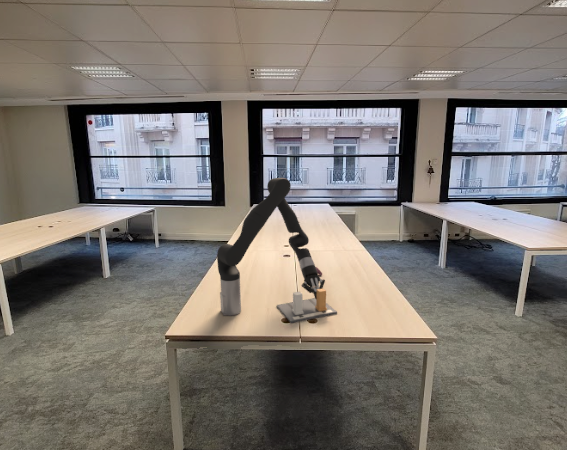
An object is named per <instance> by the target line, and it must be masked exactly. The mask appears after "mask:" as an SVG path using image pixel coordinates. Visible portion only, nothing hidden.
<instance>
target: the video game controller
mask: <svg viewBox="0 0 567 450" xmlns="http://www.w3.org/2000/svg"><path fill="white" fill-rule="evenodd" d="M315 267H316V270H317V273H318V276H323V272H322V271H321V270H320V269H319V268H318V266H315Z"/></svg>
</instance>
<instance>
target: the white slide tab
mask: <svg viewBox="0 0 567 450" xmlns="http://www.w3.org/2000/svg"><path fill="white" fill-rule="evenodd" d="M302 300H303V293H302V292H301V291H295V292H292V302H293V309H292V312H293V313H294V314H295V315H300V314H303V311H302Z"/></svg>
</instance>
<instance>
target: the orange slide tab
mask: <svg viewBox="0 0 567 450" xmlns="http://www.w3.org/2000/svg"><path fill="white" fill-rule="evenodd" d="M326 303H327V290H326V289H325V288H322V289H317V299H316V306H315V308H316V309H317V310H318V311H319V312H320V311H325V310H327V308H326Z"/></svg>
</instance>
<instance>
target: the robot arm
mask: <svg viewBox="0 0 567 450" xmlns="http://www.w3.org/2000/svg"><path fill="white" fill-rule="evenodd" d="M291 185H292V184H291V181H290V180H289V179H287V178H284V177H274V178H271V179H269V181H268V182H267V186H266V187H267V190H268V195H267V196H266V197H265V198H264V199H263V200H262V201H260V202H259V203H258V204H256V205H255V206H254V207H253V208H252V209H251V210H250V212H249V213H248V214H247V215H246V217H245V219H244V220H243V223H242V228H241V232H240V235H239V236H238V237H237V239H236V241H235V242H234V243H233V244H229V243H223V244H222V245H220V247H218V250H217V251H216V252H217V253H216V255H217V256H216V258H217V271H218V274H219V278H220V279H219V281H220V292H219V297H220V311H221V313H222V316H236V315H238V314H240V313H241V312H242V301H241V300H242V299H241V297H242V296H241V275H240V271H239V268H238V266H237V265H238V264H240V263H241V261H242V260H243V258H244V256H246V253H247V251H248V249H249V248H250V246H251V244H252V243H253V242H254V240H255V238H257V235H258V234H259V232H260V231H261V230H262V228H263V227H264V226H265V224H266V223H267V222H268V220H269V219H270V217H271V215H273V213H274V212H275V210H276V208H277V210H278V211H279V212H280V215H281V217H282V220H283V222H284V224H285V227H286V229H287V231H288V233H290V234H293V233H294V234H295V235H292V236H290V237H288V243H289V246H290V247H291V249H292V250H293V252H294V253H295V255H296V258H297V261H298V264H299V268H300V271H301V273H302V276H303V283H302V284H301V288H303V289H304V290H306V291H307V292H308V293H309V294H313V296H314V298H315V299H317V289H324V286H325V283H326V280H325V279H324V278H321V277H320V275H319V274H318V273H317V270H316V267H317V266H316V265H315V262H314V259H313V258H312V255H311V253H310V252H311V251H310V250H309V249H308V248H306V247H305V248H301V247H304V246H307V245H308V244H309V241H310V239H309V236H308V235H307V234H306V232H305V231H304V230H303V229H302V227H301V224H300V222H299V219H298V217H297V214H296V212H295V211H294V209H293V208H292V207H291V206H290V204H289V203H288V202H287V200H286V197H287V196H288V194H289V193H290V190H291V188H292V187H291Z"/></svg>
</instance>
